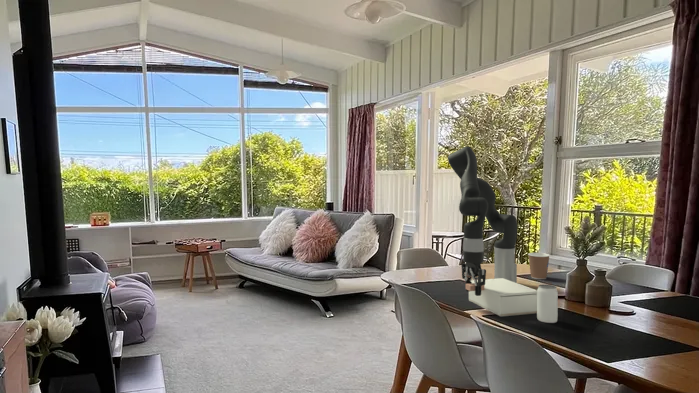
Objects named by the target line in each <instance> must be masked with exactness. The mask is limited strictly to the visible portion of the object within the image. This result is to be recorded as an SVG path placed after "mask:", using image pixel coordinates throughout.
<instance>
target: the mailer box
mask: <svg viewBox="0 0 699 393" xmlns="http://www.w3.org/2000/svg"><path fill="white" fill-rule="evenodd" d="M468 301H469V302H472V303H473V304H475V305H477V306H479V307H481V308H483V309H485V310H486V311H489V312H491V313H493V314H495V315H497V316H499V317H501V318H502V317H509V316H510V317H511V316H512V317H513V316H520V315H532V314H537V293H536V294H524V295H511V296H497V295H495V294H492V293H490V292H488V291H485V290H481V295H480V296H476V295H475V291H468Z"/></svg>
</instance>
